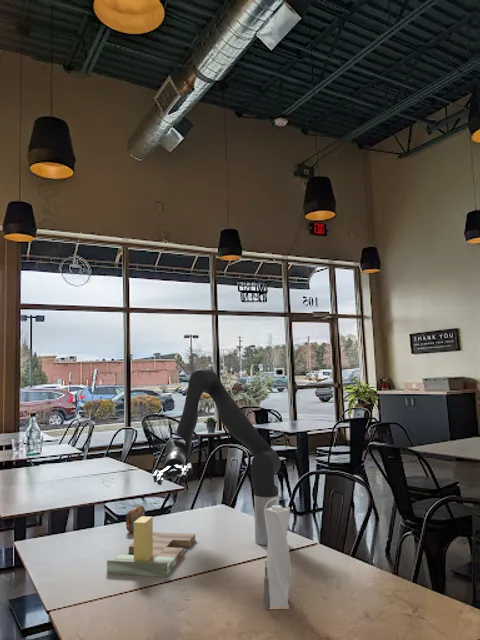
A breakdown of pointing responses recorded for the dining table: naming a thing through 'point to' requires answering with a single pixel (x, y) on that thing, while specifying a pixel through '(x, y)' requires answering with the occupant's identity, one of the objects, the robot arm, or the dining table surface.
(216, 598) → the dining table surface
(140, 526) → the block
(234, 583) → the dining table surface
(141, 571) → the board
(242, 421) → the robot arm
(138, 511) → the tin
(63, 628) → the dining table surface
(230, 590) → the dining table surface
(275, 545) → the skyscraper
